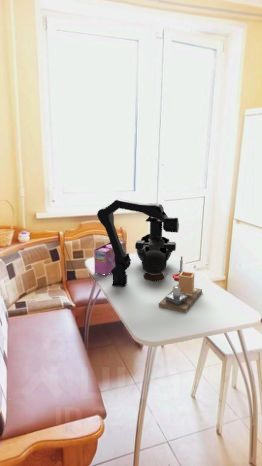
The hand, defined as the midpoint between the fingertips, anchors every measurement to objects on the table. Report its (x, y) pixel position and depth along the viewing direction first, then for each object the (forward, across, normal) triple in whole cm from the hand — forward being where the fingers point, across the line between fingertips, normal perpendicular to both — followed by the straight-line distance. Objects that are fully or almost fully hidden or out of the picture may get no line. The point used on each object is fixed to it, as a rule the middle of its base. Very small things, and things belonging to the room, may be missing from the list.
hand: (155, 262), depth 158 cm
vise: (+11, +12, -15) cm, 22 cm away
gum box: (+13, -27, +24) cm, 39 cm away
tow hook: (+13, +12, +16) cm, 24 cm away
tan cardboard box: (+11, +15, -4) cm, 19 cm away
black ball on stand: (+13, -2, +14) cm, 19 cm away
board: (+13, +13, -10) cm, 21 cm away
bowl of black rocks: (+13, -4, +32) cm, 35 cm away
